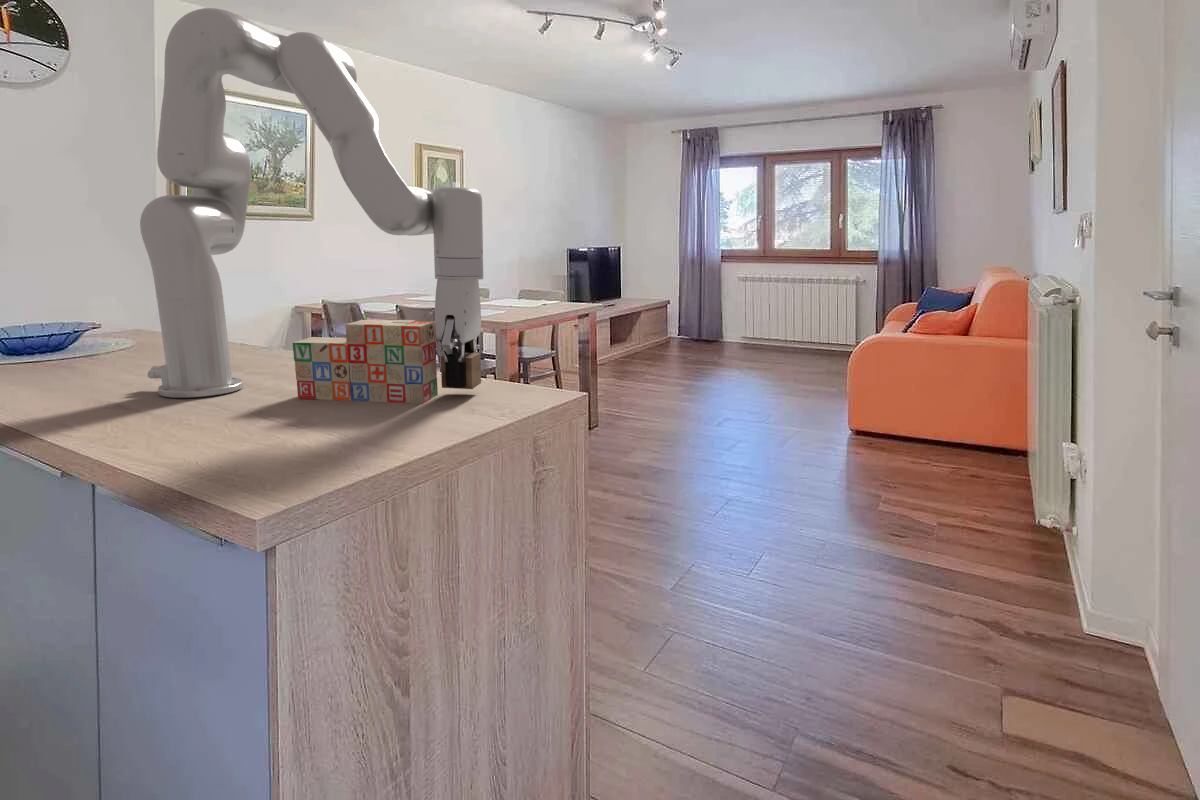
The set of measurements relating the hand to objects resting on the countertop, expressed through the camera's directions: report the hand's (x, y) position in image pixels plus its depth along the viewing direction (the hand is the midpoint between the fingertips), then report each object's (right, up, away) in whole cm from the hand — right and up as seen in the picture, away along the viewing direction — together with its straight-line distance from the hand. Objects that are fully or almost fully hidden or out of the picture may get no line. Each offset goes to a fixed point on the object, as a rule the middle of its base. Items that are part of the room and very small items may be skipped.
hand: (461, 381), depth 121 cm
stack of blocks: (-15, -3, -1) cm, 15 cm away
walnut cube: (0, -1, 0) cm, 1 cm away
